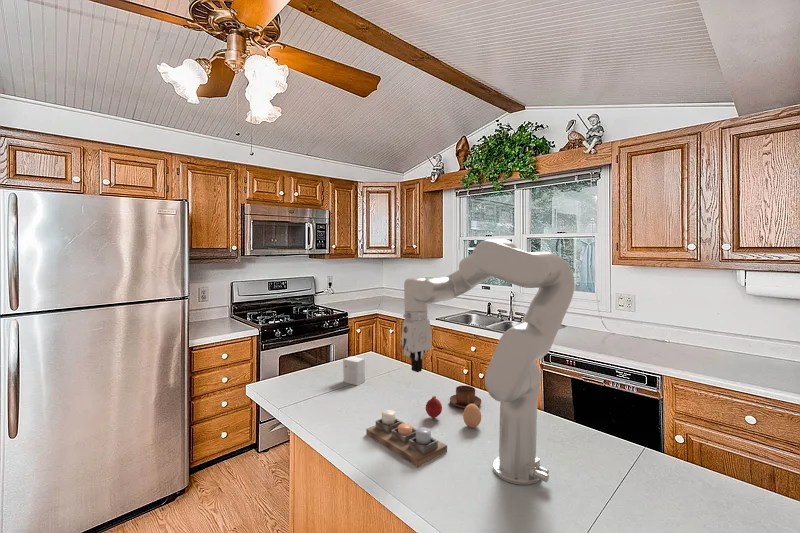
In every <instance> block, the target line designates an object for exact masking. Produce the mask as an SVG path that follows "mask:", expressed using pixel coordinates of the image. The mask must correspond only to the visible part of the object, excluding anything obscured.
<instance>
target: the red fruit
mask: <svg viewBox="0 0 800 533" xmlns="http://www.w3.org/2000/svg"><path fill="white" fill-rule="evenodd" d="M442 411H443V406H442V403H441V401H440V400H439V399H437V396H436V395H432V397H431V399H429V400H428V401H427V402H426V404H425V412H426V413H427V415H428V416H429V417H430V418H432V419H436V418H437V417H439V416H440V415H441V414H442Z"/></svg>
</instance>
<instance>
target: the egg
mask: <svg viewBox="0 0 800 533" xmlns="http://www.w3.org/2000/svg"><path fill="white" fill-rule="evenodd" d="M462 419H463V421H464V422H463V423H464V424H465V425H466V426H467V427H469V428H472V429H473V428H477V427H478V426H479V425H480V424H481V421H482V412H481V411H480V408H479V406H476V405H475V404H469V405H467V406H466V408H464V409H463V414H462Z"/></svg>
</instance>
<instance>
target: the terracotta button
mask: <svg viewBox="0 0 800 533" xmlns="http://www.w3.org/2000/svg"><path fill="white" fill-rule="evenodd" d="M412 427H413V426H412V424H410V423H406V422H404V423H403V424H400V425H398V433H400V434H402V435H403V436H406V435H408V434H410V433H412Z"/></svg>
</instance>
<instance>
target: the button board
mask: <svg viewBox="0 0 800 533" xmlns="http://www.w3.org/2000/svg"><path fill="white" fill-rule="evenodd" d="M403 423H405V422H404V421H402V420H400V419H398V418H396V417H395V424H393V425H384V424H383V423H382V418H379V419H377V420H375V425H371V426H370V427H368V428H365V431H366V433H365V434H366V436H367V437H369V438H371V439H372V440H373V441H375V442H377V443H379V444H380V445H382V446H383V447H385V448H387V449H388V450H390V451H391V452H392V453H395V454H397V455H398V457H399V456H400V457H401V458H403V459H404V460H406V461H407V462H409V463H410V464H412V465H414V466H415V467H417V468H419V467H422V466H423V465H425V464H427V463H428V462H431V461H432V460H434V459H436V458H438V457H440V456H442V455H444V454H446V453H448V445H447V444H446V443H443V442H442V441H440V440H437V438H434V437H432V436H431V442H430V443H429V444H427V445H420V444H418V443H416V429H417V428H415V427H413V426H412V433H410V434H408V435H406V436H403V435H402V434H400V433H398V425H400V424H403Z"/></svg>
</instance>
